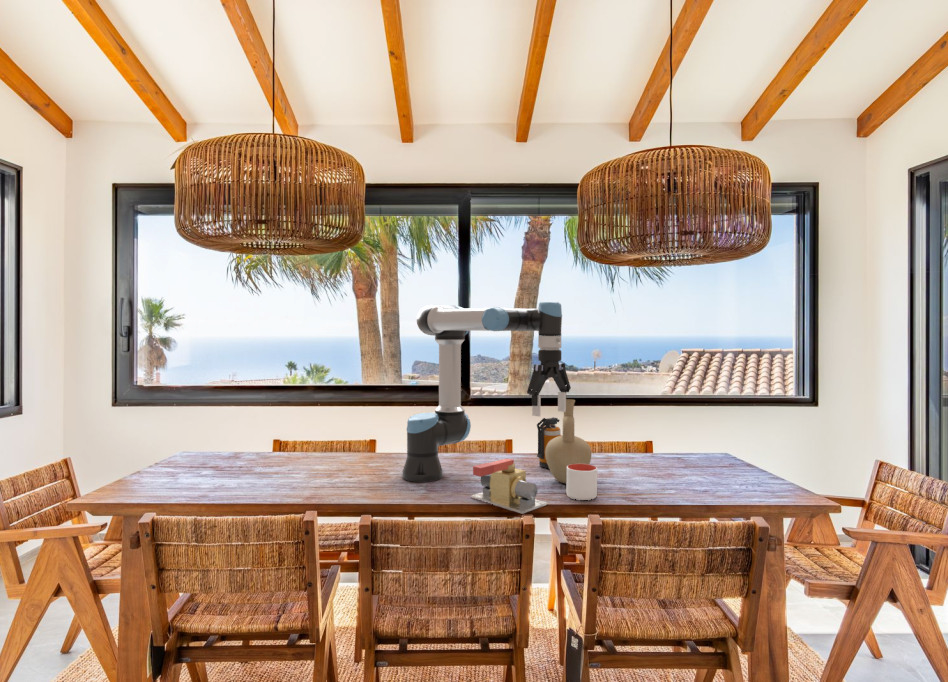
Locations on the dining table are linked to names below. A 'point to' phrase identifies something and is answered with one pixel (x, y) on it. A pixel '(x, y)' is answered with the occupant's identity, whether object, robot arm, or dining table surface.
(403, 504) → the dining table surface
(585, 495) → the cup
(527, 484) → the valve
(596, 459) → the dining table surface
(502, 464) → the lever
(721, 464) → the dining table surface
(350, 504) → the dining table surface
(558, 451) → the vase
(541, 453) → the canister
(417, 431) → the robot arm
